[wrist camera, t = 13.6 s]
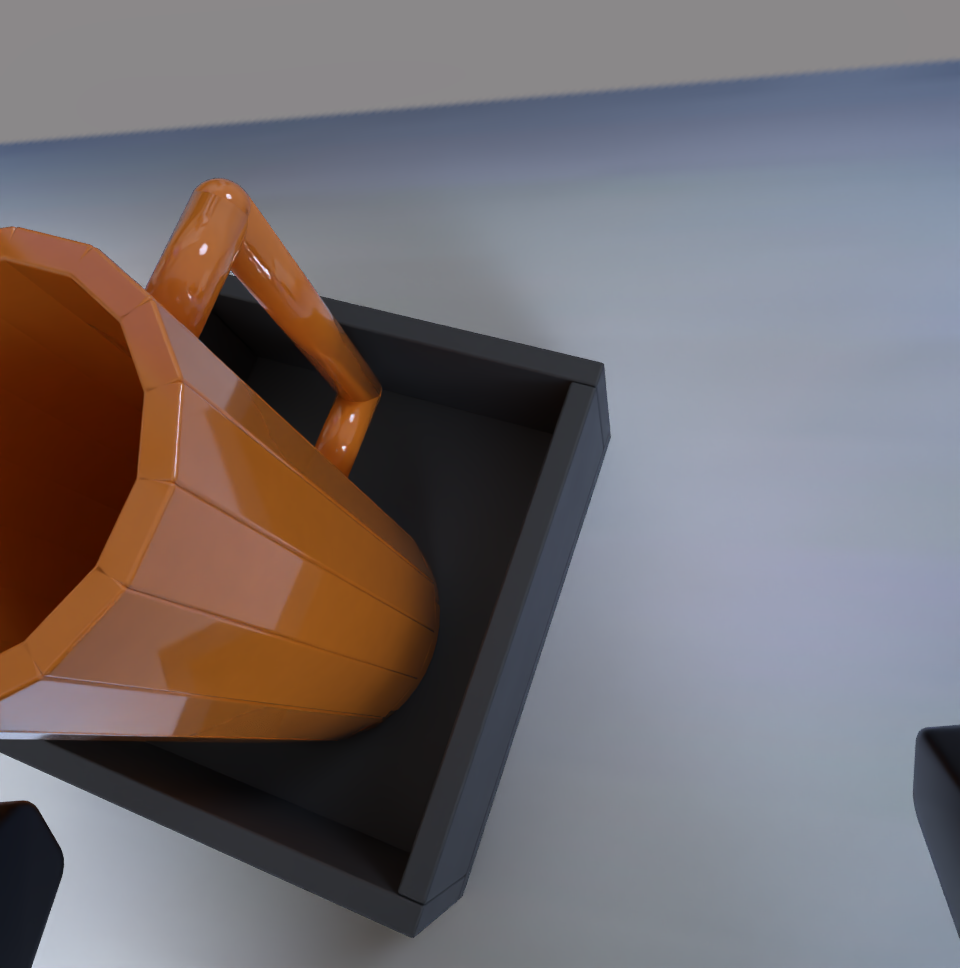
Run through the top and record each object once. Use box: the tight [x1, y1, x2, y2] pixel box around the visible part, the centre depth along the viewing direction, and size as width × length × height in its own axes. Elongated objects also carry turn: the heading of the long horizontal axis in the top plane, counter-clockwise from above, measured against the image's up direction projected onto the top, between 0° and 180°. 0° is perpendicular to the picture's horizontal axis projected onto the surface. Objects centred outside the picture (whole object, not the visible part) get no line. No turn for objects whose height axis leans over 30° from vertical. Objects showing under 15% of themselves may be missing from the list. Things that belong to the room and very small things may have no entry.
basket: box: [0, 275, 611, 938], centre depth 21 cm, size 12×11×5 cm
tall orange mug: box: [0, 178, 440, 743], centre depth 16 cm, size 9×6×13 cm
